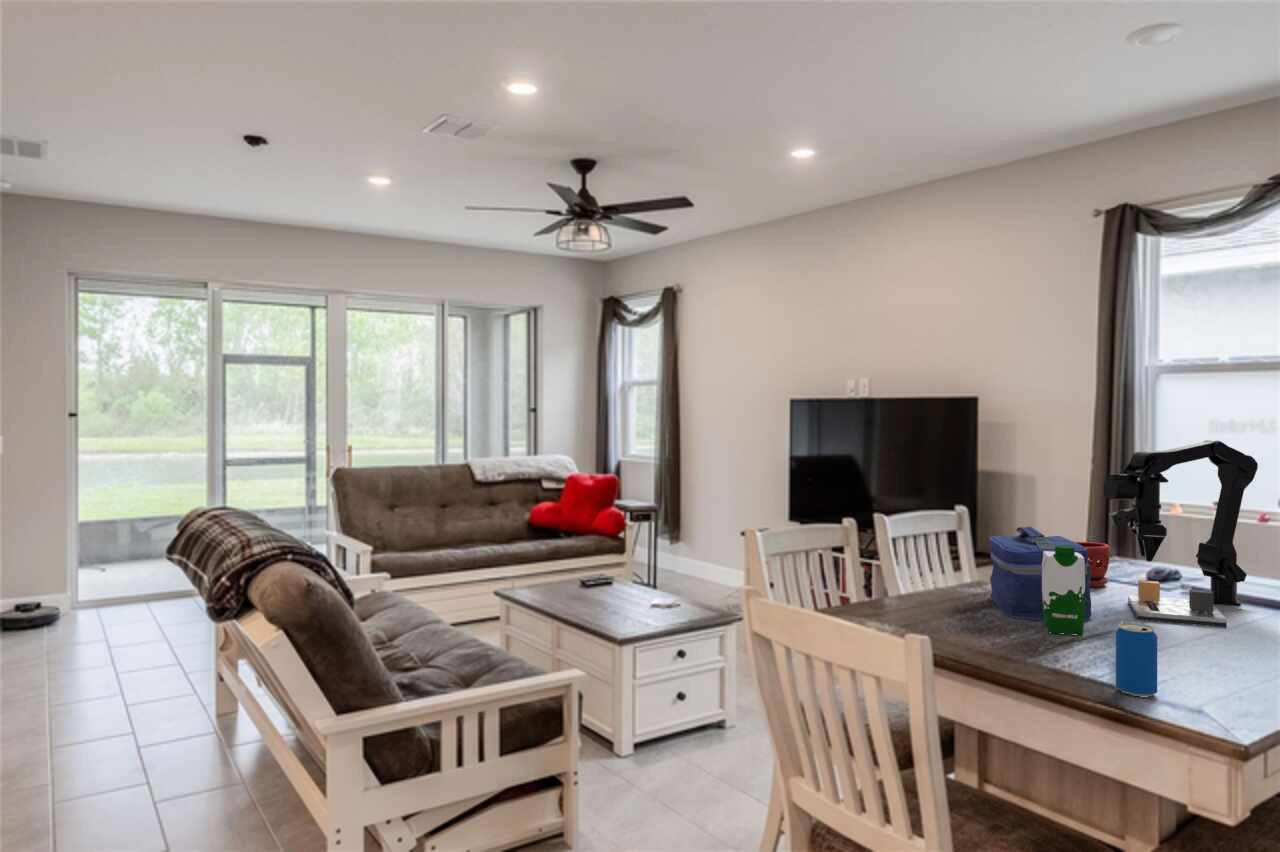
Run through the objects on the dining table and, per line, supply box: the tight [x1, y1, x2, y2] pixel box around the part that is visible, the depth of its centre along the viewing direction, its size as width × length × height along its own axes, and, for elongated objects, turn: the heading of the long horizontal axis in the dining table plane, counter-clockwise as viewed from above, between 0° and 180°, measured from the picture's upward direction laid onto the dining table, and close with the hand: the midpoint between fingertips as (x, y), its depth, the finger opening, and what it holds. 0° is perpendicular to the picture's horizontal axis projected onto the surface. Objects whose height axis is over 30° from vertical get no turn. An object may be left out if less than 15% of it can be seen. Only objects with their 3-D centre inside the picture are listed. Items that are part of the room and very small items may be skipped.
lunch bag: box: [989, 525, 1092, 622], centre depth 215 cm, size 31×21×20 cm
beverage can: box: [1115, 622, 1158, 697], centre depth 150 cm, size 6×6×12 cm
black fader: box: [1189, 589, 1215, 615], centre depth 201 cm, size 3×4×6 cm
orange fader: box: [1137, 579, 1161, 605], centre depth 212 cm, size 3×4×6 cm
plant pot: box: [1075, 541, 1110, 588], centre depth 243 cm, size 13×13×12 cm
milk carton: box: [1042, 545, 1085, 636], centre depth 192 cm, size 9×9×20 cm
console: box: [1127, 594, 1228, 628], centre depth 207 cm, size 20×18×2 cm
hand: (1146, 558), depth 217 cm, fingers open, 8 cm apart
